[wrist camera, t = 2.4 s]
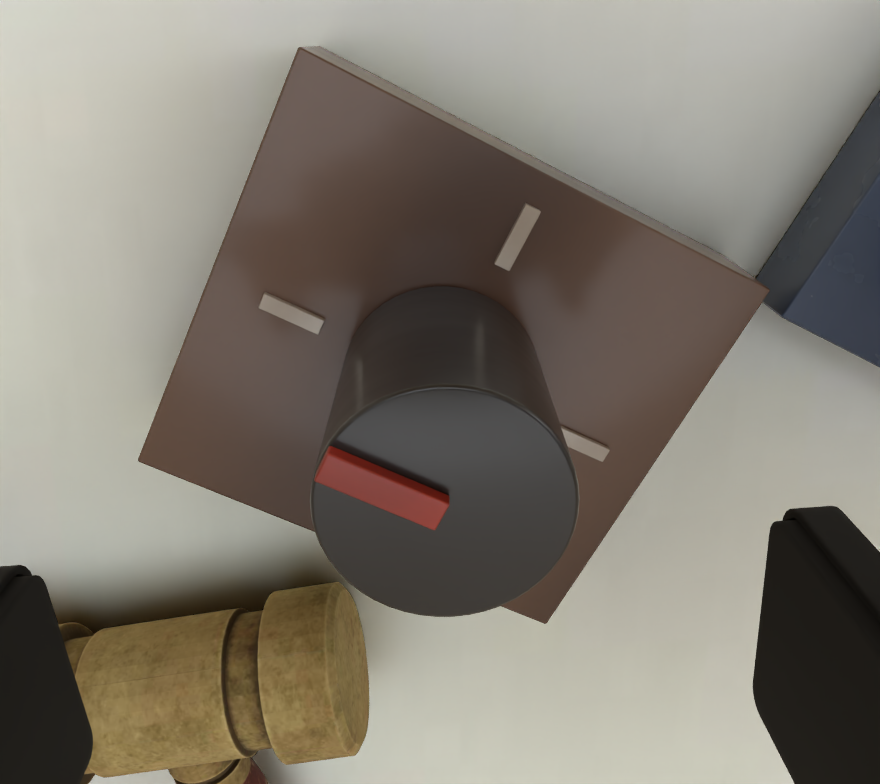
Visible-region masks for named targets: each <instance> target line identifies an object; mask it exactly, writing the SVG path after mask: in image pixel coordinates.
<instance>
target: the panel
mask: <svg viewBox="0 0 880 784" xmlns="http://www.w3.org/2000/svg"><path fill="white" fill-rule="evenodd" d="M434 286H449V287H457V288H463V289H467V290H471V291H474V292H477V293H479V294H482V295H485V296H487V297H489V298H490V299H492V300H494V301H496V302H498V303H499V304H500V305H502V306H503V307H504V308H506V309H507V310H508V311H509V312H510V313H511V314H512V315H513V316H514V317H515V318H516V319H517V320H518V321H519V322H520V324H521V325H522V326H523V327H524V329H525V330H526V332H527V334H528V336H529V337H530V339H531V341H532V344H533V346H534V349H535V351H536V354H537V357H538V360H539V363H540V366H541V369H542V372H543V375H544V378H545V381H546V384H547V387H548V390H549V393H550V396H551V399H552V402H553V405H554V408H555V411H556V414H557V417H558V420H559V423H560V425H561V428H562V431H563V434H564V437H565V440H566V443H567V446H568V449H569V452H570V455H571V458H572V461H573V464H574V467H575V471H576V475H577V479H578V485H579V498H580V499H579V512H578V517H577V522H576V526H575V530H574V532H573V535H572V537H571V540H570V542H569V544H568V546H567V548H566V550H565V552H564V553H563V555H562V557H561V558H560V560H559V561H558V562H557V564H556V565H555V566H554V568H553V569H552V570H551V571H550V572H549V573H548V574H547V575H546V576H545V577H544V578H543V579H542V580H541V581H540V582H539V583H538V584H536V585H535V586H534V587H533V588H531V589H530V590H529V591H527V592H526V593H524V594H522V595H521V596H519V597H518V598H516V599H514V600H512V601H510V602H508V603H506V604H504V605H501V606H502V607H504V608H507V609H509V610H512V611H514V612H517V613H519V614H522V615H524V616H527V617H529V618H532V619H534V620H537V621H539V622H542V623H544V624H546V623H547V622H548V620H549V619H550V617H551V616H552V614H553V613H554V611H555V610H556V608H557V607H558V605H559V604H560V602H561V601H562V599H563V598H564V596H565V595H566V593H567V592H568V591H569V589H570V588H571V586H572V585H573V583H574V582H575V580H576V579H577V577H578V576H579V574H580V573H581V571H582V570H583V568H584V567H585V565H586V564H587V562H588V561H589V559H590V558H591V556H592V555H593V553H594V552H595V550H596V549H597V547H598V546H599V544H600V543H601V541H602V540H603V538H604V537H605V535H606V534H607V532H608V531H609V529H610V528H611V526H612V525H613V523H614V522H615V520H616V519H617V517H618V516H619V515H620V513H621V512H622V510H623V509H624V507H625V506H626V504H627V503H628V501H629V500H630V498H631V497H632V495H633V494H634V492H635V491H636V489H637V488H638V486H639V485H640V483H641V482H642V480H643V479H644V477H645V476H646V474H647V473H648V471H649V470H650V468H651V467H652V465H653V464H654V462H655V461H656V459H657V458H658V456H659V455H660V453H661V452H662V450H663V449H664V447H665V446H666V444H667V443H668V441H669V440H670V439H671V437H672V436H673V434H674V433H675V431H676V430H677V428H678V427H679V425H680V424H681V422H682V421H683V419H684V418H685V416H686V415H687V413H688V412H689V410H690V409H691V407H692V406H693V404H694V403H695V401H696V400H697V398H698V397H699V395H700V394H701V392H702V391H703V389H704V388H705V386H706V385H707V383H708V382H709V380H710V379H711V377H712V376H713V374H714V373H715V371H716V370H717V368H718V367H719V365H720V364H721V362H722V361H723V360H724V358H725V357H726V355H727V354H728V352H729V351H730V349H731V348H732V346H733V345H734V343H735V342H736V340H737V339H738V337H739V336H740V334H741V333H742V331H743V330H744V328H745V327H746V325H747V324H748V322H749V321H750V319H751V318H752V316H753V315H754V313H755V312H756V310H757V309H758V307H759V306H760V304H761V303H762V301H763V300H764V298H765V297H766V295H767V294H768V292H769V291H770V289H769V288H768V287H766V286H765V285H764V284H762V283H761V282H760V281H758V280H757V279H755V278H754V277H753V276H751V275H750V274H749V273H747V272H746V271H744V270H743V269H742V268H740V267H739V266H738V265H736V264H735V263H733V262H732V261H731V260H729V259H728V258H727V257H725V256H724V255H722V254H720V253H718V252H716V251H714V250H712V249H710V248H708V247H706V246H704V245H703V244H701V243H699V242H697V241H695V240H693V239H691V238H689V237H687V236H685V235H683V234H681V233H679V232H677V231H676V230H674V229H672V228H670V227H668V226H666V225H664V224H662V223H660V222H658V221H656V220H654V219H652V218H650V217H648V216H647V215H645V214H643V213H641V212H639V211H637V210H635V209H633V208H631V207H629V206H627V205H625V204H623V203H621V202H620V201H618V200H616V199H614V198H612V197H610V196H608V195H606V194H604V193H602V192H600V191H598V190H596V189H594V188H593V187H591V186H589V185H587V184H585V183H583V182H581V181H579V180H577V179H575V178H573V177H571V176H569V175H567V174H566V173H564V172H562V171H560V170H558V169H556V168H554V167H552V166H550V165H548V164H546V163H544V162H542V161H540V160H538V159H537V158H535V157H533V156H531V155H529V154H527V153H525V152H523V151H521V150H519V149H517V148H515V147H513V146H511V145H510V144H508V143H506V142H504V141H502V140H500V139H498V138H496V137H494V136H492V135H490V134H488V133H486V132H484V131H483V130H481V129H479V128H477V127H475V126H473V125H471V124H469V123H467V122H465V121H463V120H461V119H459V118H457V117H456V116H454V115H452V114H450V113H448V112H446V111H444V110H442V109H440V108H438V107H436V106H434V105H432V104H430V103H429V102H427V101H425V100H423V99H421V98H419V97H417V96H415V95H413V94H411V93H409V92H407V91H405V90H403V89H401V88H400V87H398V86H396V85H394V84H392V83H390V82H388V81H386V80H384V79H382V78H380V77H378V76H376V75H374V74H373V73H371V72H369V71H367V70H365V69H363V68H361V67H359V66H357V65H355V64H353V63H351V62H349V61H347V60H346V59H344V58H342V57H340V56H338V55H336V54H334V53H332V52H330V51H328V50H326V49H324V48H322V47H320V46H314V47H299V48H298V50H297V52H296V55H295V57H294V60H293V62H292V65H291V68H290V70H289V73H288V75H287V78H286V80H285V83H284V86H283V88H282V91H281V93H280V96H279V98H278V101H277V104H276V106H275V109H274V111H273V114H272V116H271V119H270V122H269V124H268V127H267V129H266V132H265V134H264V137H263V140H262V142H261V145H260V147H259V150H258V152H257V155H256V158H255V160H254V163H253V165H252V168H251V170H250V173H249V176H248V178H247V181H246V183H245V186H244V188H243V191H242V194H241V196H240V199H239V201H238V204H237V206H236V209H235V212H234V214H233V217H232V219H231V222H230V224H229V227H228V229H227V232H226V235H225V237H224V240H223V242H222V245H221V247H220V250H219V253H218V255H217V258H216V260H215V263H214V265H213V268H212V271H211V273H210V276H209V278H208V281H207V283H206V286H205V289H204V291H203V294H202V296H201V299H200V301H199V304H198V307H197V309H196V312H195V314H194V317H193V319H192V322H191V325H190V327H189V330H188V332H187V335H186V337H185V340H184V343H183V345H182V348H181V350H180V353H179V355H178V358H177V361H176V363H175V366H174V368H173V371H172V373H171V376H170V379H169V381H168V384H167V386H166V389H165V391H164V394H163V397H162V399H161V402H160V404H159V407H158V409H157V412H156V415H155V417H154V420H153V422H152V425H151V427H150V430H149V433H148V435H147V438H146V440H145V443H144V445H143V448H142V451H141V453H140V456H139V458H138V461H139V462H141V463H144V464H146V465H149V466H151V467H154V468H156V469H159V470H161V471H164V472H166V473H169V474H171V475H174V476H176V477H179V478H181V479H184V480H186V481H189V482H191V483H194V484H196V485H199V486H201V487H204V488H206V489H209V490H211V491H214V492H216V493H219V494H221V495H224V496H226V497H229V498H231V499H234V500H236V501H239V502H241V503H244V504H246V505H249V506H251V507H254V508H256V509H259V510H261V511H264V512H266V513H269V514H271V515H274V516H276V517H279V518H281V519H284V520H286V521H289V522H291V523H294V524H296V525H299V526H302V527H304V528H307V529H309V530H312V531H314V532H315V530H314V526H313V522H312V517H311V508H310V492H311V483H312V479H313V475H314V470H315V466H316V463H317V459H318V455H319V452H320V448H321V444H322V441H323V437H324V433H325V430H326V426H327V422H328V419H329V415H330V411H331V408H332V404H333V400H334V397H335V393H336V389H337V386H338V382H339V378H340V375H341V371H342V367H343V364H344V360H345V356H346V353H347V350H348V347H349V345H350V342H351V340H352V338H353V337H354V335H355V333H356V331H357V330H358V328H359V327H360V326H361V324H362V323H363V322H364V320H365V319H366V318H367V317H368V316H369V315H370V314H371V313H372V312H373V311H375V310H376V309H377V308H379V307H380V306H381V305H382V304H384V303H385V302H387V301H389V300H391V299H392V298H394V297H396V296H399V295H401V294H403V293H406V292H409V291H412V290H416V289H420V288H426V287H434Z"/></svg>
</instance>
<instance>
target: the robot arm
mask: <svg viewBox="0 0 880 784" xmlns="http://www.w3.org/2000/svg"><path fill="white" fill-rule="evenodd" d="M753 694H754V699H755V704H756V707H757V710H758V712H759V715H760V717H761V719H762V721H763V723H764V724H765V726H766V728H767V730H768V732H769V734H770V736H771V738H772V740H773V742H774V744H775V746H776V748H777V750H778V752H779V754H780V756H781V758H782V760H783V762H784V764H785V765H786V767H787V769H788V771H789V773H790V775H791V777H792V779H793V781H794V783H795V784H880V552H879V551H878V550H877V549H876V548H875V547H874V546H873V544H872V543H871V542H870V541H869V540H868V539H867V538H866V537H865V536H864V535H863V534H862V532H861V531H860V530H859V529H858V528H857V527H856V526H855V525H854V524H853V523H852V521H851V520H850V519H849V518H848V517H847V516H846V515H845V514H844V513H843V512H842V511H841V510H840V509H839V508H838V507H835V506H824V507H811V508H797V509H789V510H788V511H786V513H785V515H784V517H783V521H776V522H774V523H773V524H772V526H771V528H770V533H769V542H768V551H767V560H766V569H765V578H764V587H763V596H762V605H761V614H760V623H759V632H758V641H757V650H756V660H755V669H754V678H753ZM92 749H93V734H92V730H91V726H90V723H89V720H88V717H87V714H86V711H85V707H84V704H83V701H82V698H81V695H80V692H79V688H78V685H77V682H76V679H75V676H74V673H73V669H72V666H71V663H70V660H69V657H68V654H67V650H66V647H65V644H64V641H63V638H62V635H61V632H60V628H59V625H58V622H57V619H56V616H55V613H54V609H53V606H52V603H51V600H50V597H49V594H48V590H47V587H46V585H45V582H44V580H43V579H42V578H41V577H40V576H37V575H35V576H32V574H31V572H30V571H29V570H28V569H27V568H26V567H25V566H22V565H15V566H2V567H0V784H80V782H81V780H82V778H83V775H84V773H85V771H86V769H87V767H88V764H89V762H90V759H91V755H92Z"/></svg>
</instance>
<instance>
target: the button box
mask: <svg viewBox="0 0 880 784" xmlns="http://www.w3.org/2000/svg"><path fill="white" fill-rule="evenodd" d="M756 279H757V280H758V281H760V282H761V283H762V284H764V285H765V286H766V287H768V288H769V289H770V291H769V292H768V294H767V295H766V297H765V298H764V300H763V301H762V302H763V303H764V304H765V305H767V306H768V307H769V308H770V309H772V310H773V311H774V312H776V313H777V314H778V315H779V316H781V317H782V318H784V319H786V320H788V321H790V322H792V323H794V324H796V325H798V326H799V327H801V328H803V329H805V330H807V331H809V332H811V333H813V334H815V335H817V336H819V337H821V338H823V339H825V340H827V341H829V342H831V343H833V344H835V345H837V346H839V347H841V348H843V349H845V350H847V351H849V352H851V353H852V354H854V355H856V356H858V357H860V358H862V359H864V360H866V361H868V362H870V363H872V364H874V365H876V366H878V367H880V91H879V93H878V94H877V96H876V97H875V99H874V100H873V102H872V103H871V105H870V106H869V108H868V109H867V111H866V112H865V114H864V115H863V117H862V119H861V120H860V122H859V123H858V125H857V126H856V128H855V129H854V131H853V132H852V134H851V135H850V137H849V138H848V140H847V141H846V143H845V144H844V146H843V147H842V149H841V150H840V152H839V153H838V155H837V156H836V158H835V159H834V161H833V162H832V164H831V165H830V167H829V169H828V170H827V172H826V173H825V175H824V176H823V178H822V179H821V181H820V182H819V184H818V185H817V187H816V188H815V190H814V191H813V193H812V194H811V196H810V197H809V199H808V200H807V202H806V203H805V205H804V206H803V208H802V209H801V211H800V212H799V214H798V215H797V217H796V218H795V220H794V222H793V223H792V225H791V226H790V228H789V229H788V231H787V232H786V234H785V235H784V237H783V238H782V240H781V241H780V243H779V244H778V246H777V247H776V249H775V250H774V252H773V253H772V255H771V256H770V258H769V259H768V261H767V262H766V264H765V265H764V267H763V268H762V270H761V272H760V273H759V275H758V276H757V278H756Z"/></svg>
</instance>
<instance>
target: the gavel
mask: <svg viewBox="0 0 880 784" xmlns="http://www.w3.org/2000/svg"><path fill="white" fill-rule="evenodd" d="M58 625H59V628H60V632H61V635H62V638H63V641H64V644H65V647H66V650H67V654H68V657H69V660H70V663H71V666H72V669H73V673H74V676H75V679H76V682H77V685H78V688H79V692H80V695H81V698H82V701H83V704H84V707H85V711H86V714H87V717H88V720H89V723H90V726H91V730H92V734H93V749H92V755H91V759H90V762H89V764H88V767H87V769H86V771H85V773H84V775H83V778H82V780H81V782H80V784H88V783H89V782H90V781H91V779H92V778H93V777H94V775H95V774H96V775H98V776H101V777H113V776H120V775H127V774H134V773H142V772H149V771H156V770H163V769H168V770H169V772H170V774H171V775H172V777H173V778H174V780H175V782H176V784H268V782H267V779H266V777H265V775H264V774H263V773H262V771H261V770H260V769H259V767H258V766H257V765H256V763H255V762H254V761H253V759H252V758H251V757H252V756H254V755H255V754H256V753H257V751H258V750H261V749H268V748H273V750H274V752H275V754H276V756H277V757H278V758H279V760H280V761H281V762H282V763H284V764H286V765H289V764H297V763H304V762H311V761H318V760H326V759H333V758H340V757H347V756H354V755H356V754H357V753H358V751H359V749H360V747H361V745H362V743H363V741H364V739H365V736H366V732H367V727H368V718H369V680H368V667H367V658H366V650H365V643H364V637H363V632H362V627H361V623H360V619H359V615H358V612H357V608H356V605H355V603H354V601H353V598H352V596H351V595H350V593H349V592H348V591H347V589H346V588H345V587H344V586H343V585H342V584H341V583H339V582H333V583H326V584H319V585H313V586H306V587H300V588H293V589H287V590H280V591H274V592H273V593H271V594H270V595H269V597H268V599H267V601H266V602H265V606H264V609H263V610H261V611H254V612H249V611H248V610H247V609H244V608H236V609H230V610H223V611H216V612H210V613H203V614H197V615H190V616H183V617H177V618H170V619H163V620H157V621H150V622H144V623H137V624H130V625H124V626H117V627H111V628H104V629H101V630H100V631H98V632H96V633H95V634H93V633H92V632H91V630H90V629H88V628H87V627H85V626H84V625H82V624H79V623H75V622H70V623H63V624H58Z"/></svg>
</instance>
